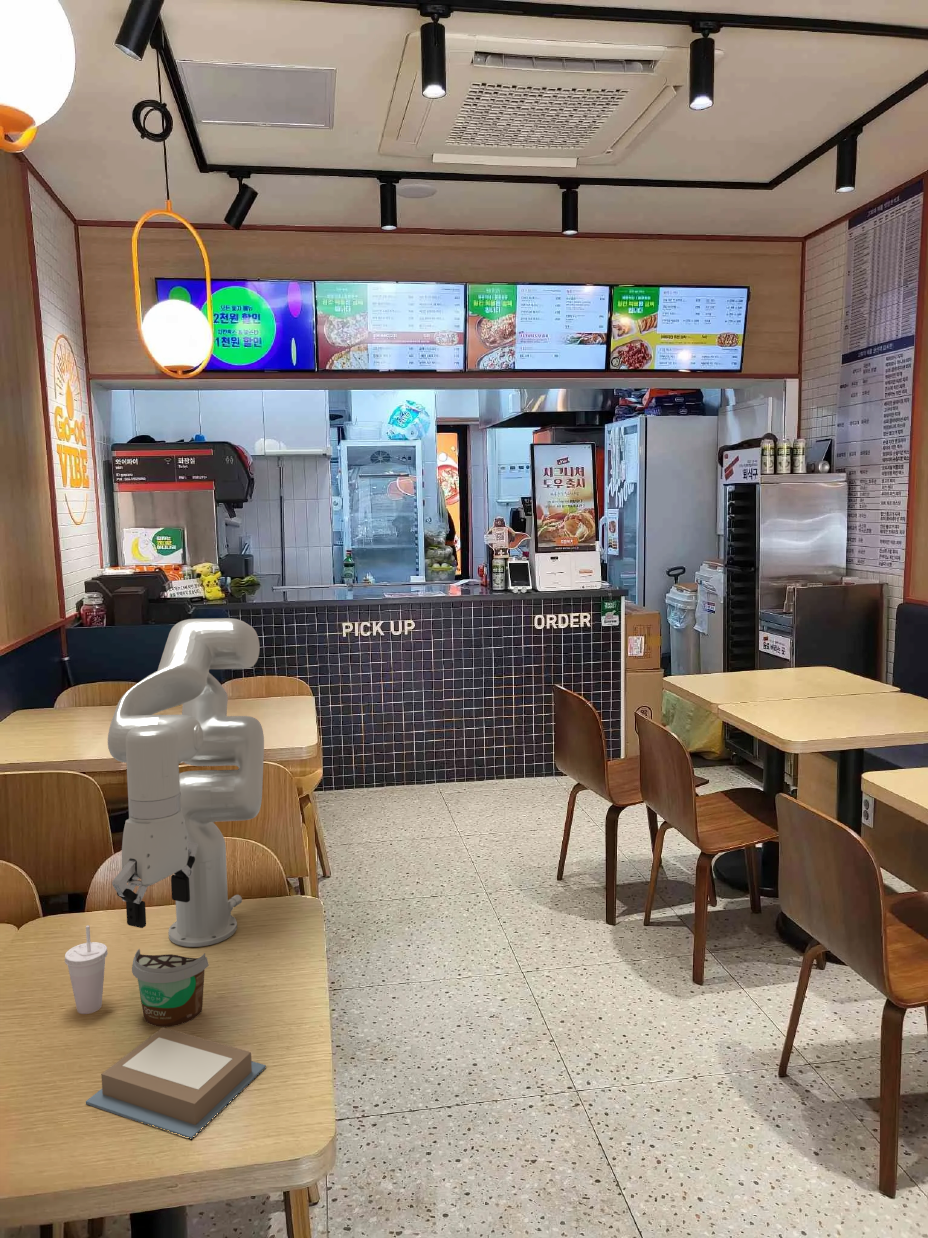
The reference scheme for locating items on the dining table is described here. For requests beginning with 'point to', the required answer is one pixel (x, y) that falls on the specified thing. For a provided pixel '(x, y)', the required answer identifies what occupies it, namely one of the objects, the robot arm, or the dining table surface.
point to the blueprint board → (175, 1081)
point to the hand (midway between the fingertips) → (159, 913)
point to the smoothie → (87, 973)
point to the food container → (170, 987)
